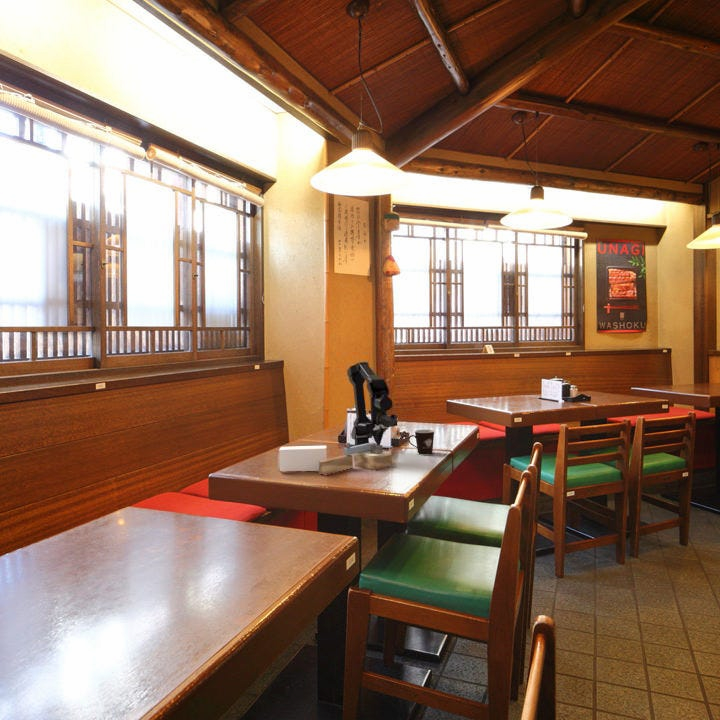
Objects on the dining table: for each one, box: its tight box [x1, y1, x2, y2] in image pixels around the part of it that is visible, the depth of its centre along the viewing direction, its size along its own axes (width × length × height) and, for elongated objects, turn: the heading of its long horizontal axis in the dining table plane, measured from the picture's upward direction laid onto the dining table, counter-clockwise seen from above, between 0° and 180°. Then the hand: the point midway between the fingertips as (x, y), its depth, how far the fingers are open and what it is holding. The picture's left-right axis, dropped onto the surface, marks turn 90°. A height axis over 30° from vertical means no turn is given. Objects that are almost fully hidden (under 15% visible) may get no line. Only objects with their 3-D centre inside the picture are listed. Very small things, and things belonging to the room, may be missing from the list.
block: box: [343, 441, 376, 456], centre depth 228 cm, size 2×16×4 cm, turn 133°
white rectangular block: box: [277, 445, 328, 472], centre depth 223 cm, size 20×6×9 cm, turn 89°
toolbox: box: [353, 454, 393, 471], centre depth 227 cm, size 12×10×4 cm
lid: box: [354, 444, 392, 459], centre depth 227 cm, size 12×10×5 cm
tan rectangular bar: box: [318, 454, 354, 476], centre depth 220 cm, size 3×15×5 cm, turn 133°
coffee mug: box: [407, 429, 435, 455], centre depth 248 cm, size 12×9×10 cm
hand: (378, 444), depth 236 cm, fingers closed
